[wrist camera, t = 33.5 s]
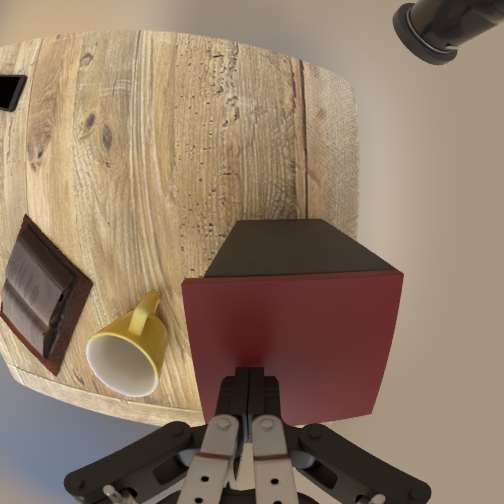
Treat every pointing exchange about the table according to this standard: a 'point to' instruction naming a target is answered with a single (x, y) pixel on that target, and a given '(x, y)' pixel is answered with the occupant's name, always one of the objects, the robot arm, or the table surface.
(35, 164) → the table surface
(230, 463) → the robot arm
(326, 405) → the red lid
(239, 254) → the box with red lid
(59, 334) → the book
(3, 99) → the smartphone
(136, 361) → the mug
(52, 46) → the table surface
